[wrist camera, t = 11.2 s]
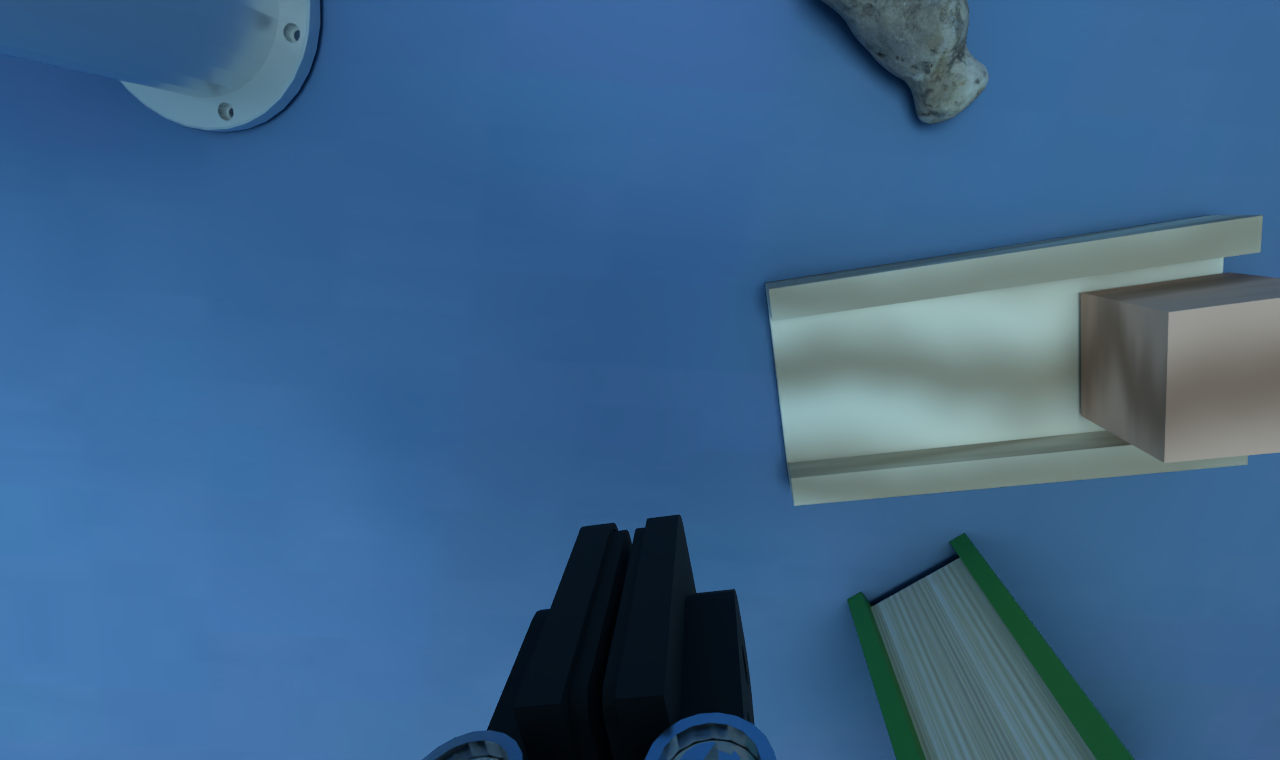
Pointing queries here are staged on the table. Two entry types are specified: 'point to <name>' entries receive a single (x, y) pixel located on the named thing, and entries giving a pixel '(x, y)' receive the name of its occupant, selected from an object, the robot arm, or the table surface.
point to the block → (1185, 365)
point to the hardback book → (974, 673)
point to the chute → (967, 363)
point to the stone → (920, 49)
